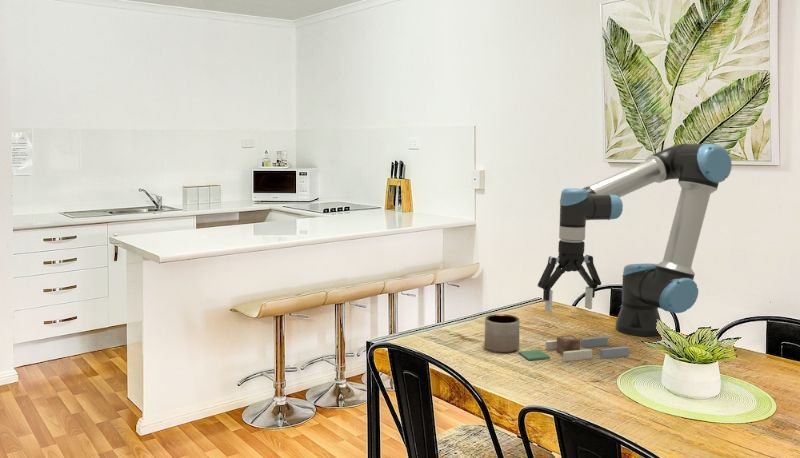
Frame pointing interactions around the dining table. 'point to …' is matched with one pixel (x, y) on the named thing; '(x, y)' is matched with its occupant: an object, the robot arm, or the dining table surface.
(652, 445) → the dining table surface
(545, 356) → the pad
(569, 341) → the letter cube
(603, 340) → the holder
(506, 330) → the planter
